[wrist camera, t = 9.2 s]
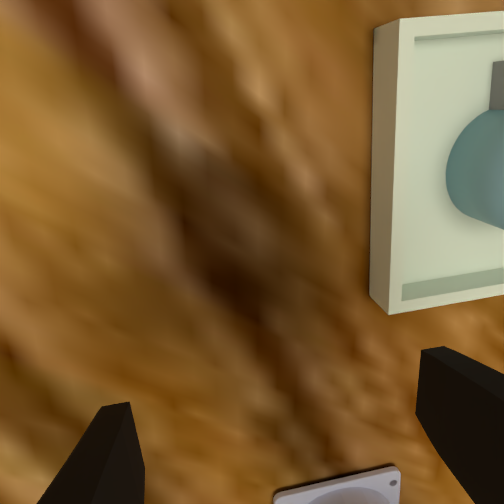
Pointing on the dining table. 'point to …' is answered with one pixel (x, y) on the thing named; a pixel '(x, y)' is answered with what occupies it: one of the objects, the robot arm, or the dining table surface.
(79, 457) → the robot arm
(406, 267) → the tray
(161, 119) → the dining table surface
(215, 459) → the dining table surface
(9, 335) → the dining table surface
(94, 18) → the dining table surface
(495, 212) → the tabbed cylinder
